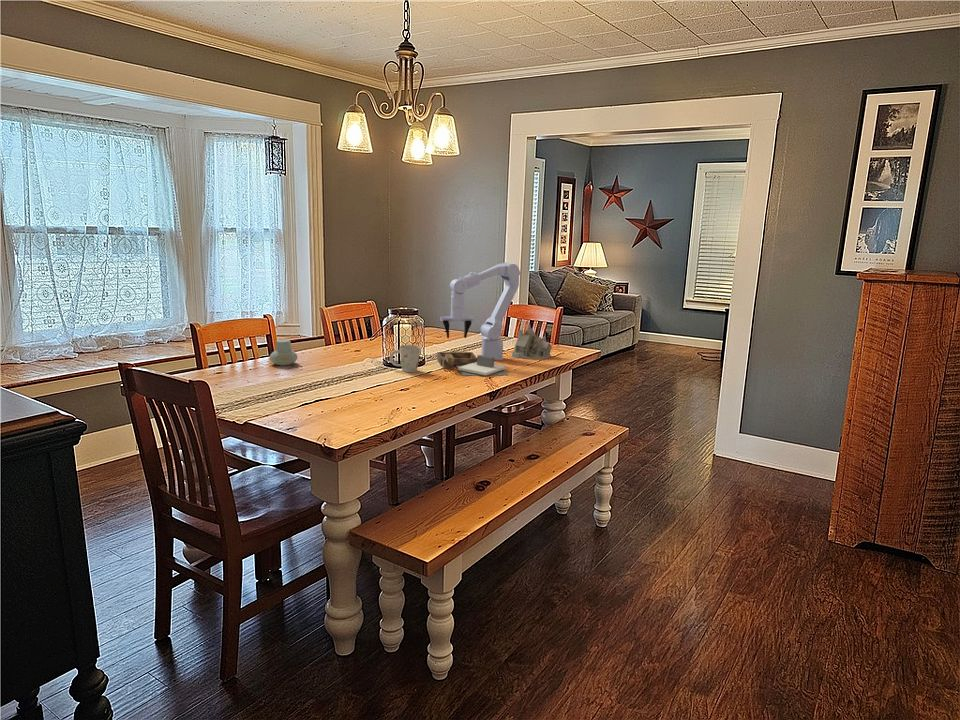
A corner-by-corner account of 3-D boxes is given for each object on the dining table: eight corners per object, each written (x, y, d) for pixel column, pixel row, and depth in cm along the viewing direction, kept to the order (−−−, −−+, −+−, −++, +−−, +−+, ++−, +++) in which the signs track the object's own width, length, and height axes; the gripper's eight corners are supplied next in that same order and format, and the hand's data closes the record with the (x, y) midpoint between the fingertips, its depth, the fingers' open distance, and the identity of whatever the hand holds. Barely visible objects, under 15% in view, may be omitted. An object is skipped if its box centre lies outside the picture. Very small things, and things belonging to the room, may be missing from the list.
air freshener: (297, 361, 270) (296, 338, 268) (298, 366, 262) (297, 342, 260) (270, 362, 266) (269, 339, 264) (270, 367, 259) (269, 342, 257)
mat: (499, 365, 276) (499, 365, 276) (508, 375, 260) (508, 374, 260) (456, 366, 272) (456, 365, 272) (462, 375, 256) (462, 374, 256)
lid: (479, 364, 275) (479, 352, 274) (506, 369, 268) (507, 356, 267) (457, 371, 262) (458, 357, 261) (486, 376, 255) (486, 363, 254)
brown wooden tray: (472, 358, 288) (472, 349, 287) (480, 368, 269) (480, 359, 268) (436, 358, 285) (437, 350, 284) (442, 368, 266) (442, 359, 265)
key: (450, 358, 268) (451, 353, 267) (453, 362, 260) (453, 358, 260) (445, 358, 267) (445, 353, 267) (447, 362, 259) (448, 358, 259)
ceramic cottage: (506, 355, 297) (510, 323, 294) (529, 352, 309) (533, 322, 305) (531, 363, 287) (536, 331, 283) (554, 360, 298) (559, 329, 295)
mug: (418, 373, 257) (418, 349, 255) (387, 372, 257) (387, 348, 255) (420, 368, 265) (421, 345, 263) (390, 367, 265) (391, 344, 263)
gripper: (472, 305, 283) (471, 335, 286) (439, 305, 280) (439, 335, 283) (475, 308, 276) (473, 338, 279) (441, 307, 273) (441, 338, 276)
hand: (456, 337), depth 280 cm, fingers open, 7 cm apart
